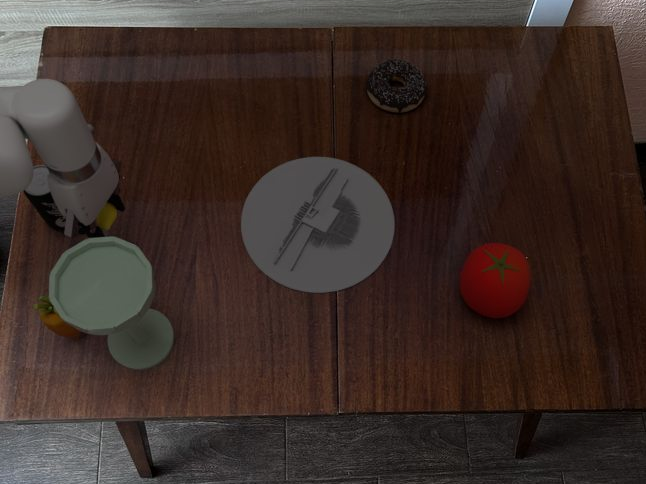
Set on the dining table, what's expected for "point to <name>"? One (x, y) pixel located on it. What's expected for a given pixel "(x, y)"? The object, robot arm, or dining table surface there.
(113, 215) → the light bulb
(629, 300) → the dining table surface
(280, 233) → the plate
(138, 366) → the stand
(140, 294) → the platter
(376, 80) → the donut
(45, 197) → the beverage can
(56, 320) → the carrot
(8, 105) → the robot arm
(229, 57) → the dining table surface
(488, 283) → the tomato
